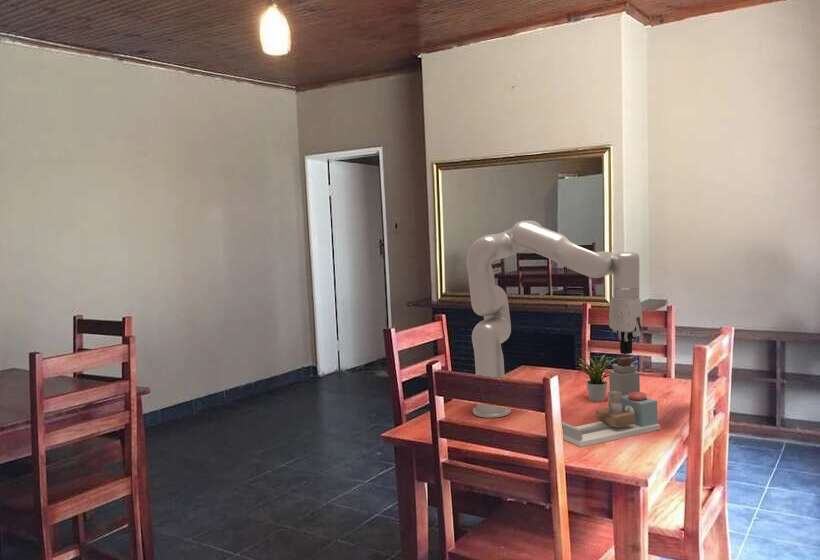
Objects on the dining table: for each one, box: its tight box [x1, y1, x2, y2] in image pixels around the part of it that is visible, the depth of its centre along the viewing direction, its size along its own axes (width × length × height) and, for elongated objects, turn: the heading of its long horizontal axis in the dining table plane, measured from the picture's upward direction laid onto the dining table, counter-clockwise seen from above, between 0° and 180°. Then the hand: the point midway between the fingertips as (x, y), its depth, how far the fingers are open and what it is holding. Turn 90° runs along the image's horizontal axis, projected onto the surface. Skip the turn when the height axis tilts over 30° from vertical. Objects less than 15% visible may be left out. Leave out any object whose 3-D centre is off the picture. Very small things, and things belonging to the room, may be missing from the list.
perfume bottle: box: [608, 356, 641, 396], centre depth 220 cm, size 7×7×18 cm
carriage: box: [595, 391, 635, 428], centre depth 203 cm, size 9×7×9 cm
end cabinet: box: [622, 395, 659, 427], centre depth 206 cm, size 10×6×7 cm, turn 24°
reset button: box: [628, 391, 647, 401], centre depth 206 cm, size 5×5×3 cm
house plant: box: [578, 354, 616, 403], centre depth 237 cm, size 14×14×16 cm
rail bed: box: [562, 421, 661, 448], centre depth 202 cm, size 12×29×4 cm, turn 114°
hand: (626, 353), depth 206 cm, fingers closed
